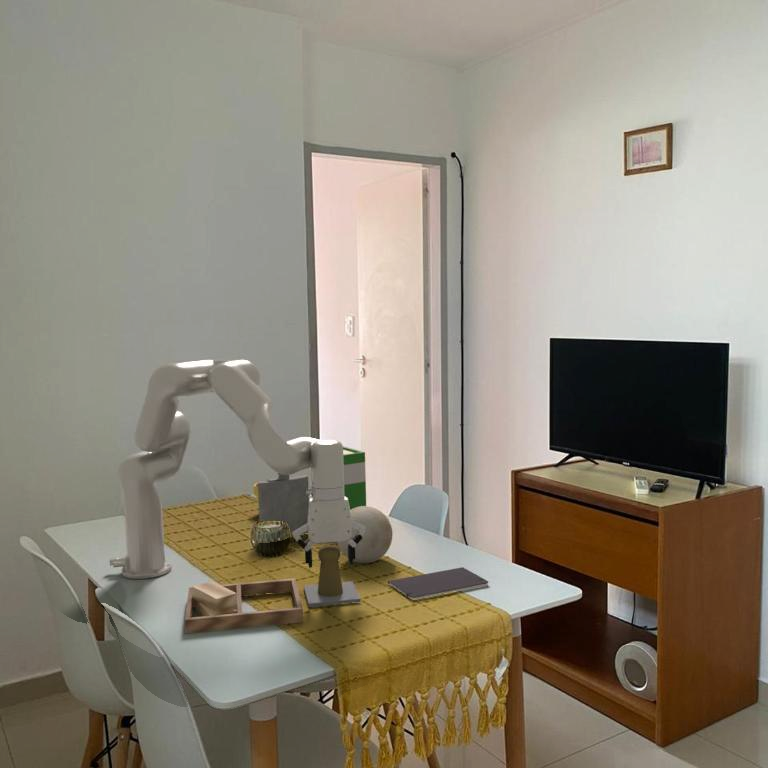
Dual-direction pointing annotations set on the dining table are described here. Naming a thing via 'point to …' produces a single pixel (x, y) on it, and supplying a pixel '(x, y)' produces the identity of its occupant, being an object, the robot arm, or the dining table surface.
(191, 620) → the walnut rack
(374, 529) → the decorative sphere
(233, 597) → the top offcut
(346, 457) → the hardback book
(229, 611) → the block
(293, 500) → the hip flask
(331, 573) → the cork
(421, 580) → the notebook
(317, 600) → the rubber mat
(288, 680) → the dining table surface
